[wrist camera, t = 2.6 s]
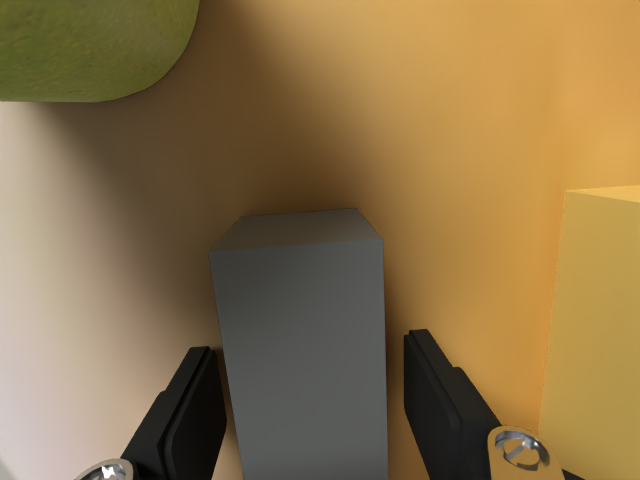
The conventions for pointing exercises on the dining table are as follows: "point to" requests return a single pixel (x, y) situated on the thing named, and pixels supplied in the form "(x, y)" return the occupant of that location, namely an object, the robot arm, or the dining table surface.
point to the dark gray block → (305, 344)
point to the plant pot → (89, 47)
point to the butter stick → (595, 337)
